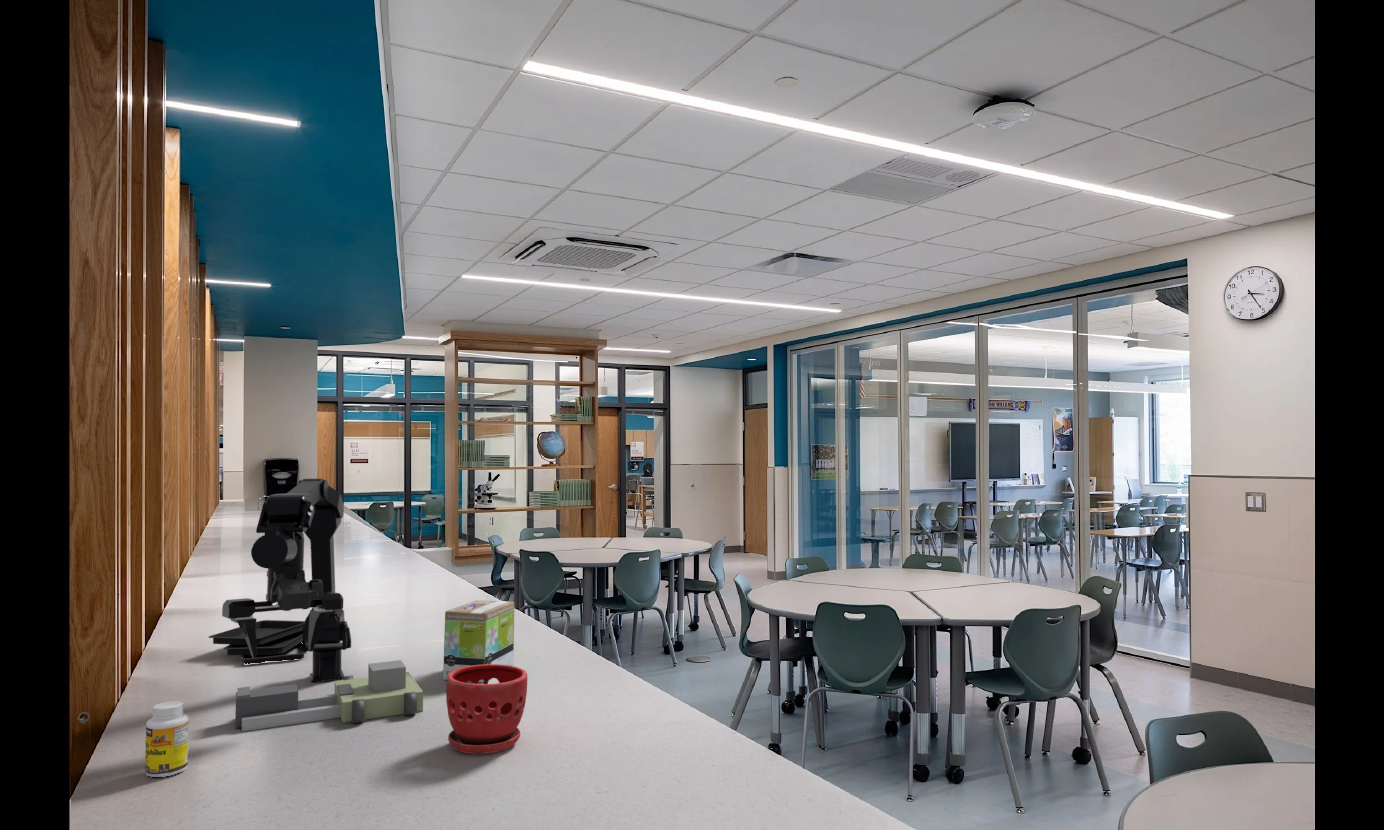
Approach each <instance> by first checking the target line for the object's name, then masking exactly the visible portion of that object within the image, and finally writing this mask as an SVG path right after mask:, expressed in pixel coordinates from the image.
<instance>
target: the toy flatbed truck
mask: <svg viewBox="0 0 1384 830" xmlns="http://www.w3.org/2000/svg"><path fill="white" fill-rule="evenodd" d="M367 668H368V669H367V671H368V672H367V673H368V675H367V676H365V677H364V676H363V677H358V678H356V677H355V678H354V675H353V674H351V675H344V676H343V677H342V679H338V680H334V694H333V693H331V694H324V695H317V696H309V697H308V696H307V697H302V698H301V697H300V698H298V710H294V711H286V712H279V713H272V714H264V715H257V716H250V717H242V727H241V732H247V731H255V730H256V731H257V730H261V729H270V728H276V727H283V726H291V725H297V724H304V723H311V722H317V721H318V722H319V721H324V720H325V721H326V720H333V719H338V718H340V720H341V722H342V724H343V723H351V722H352V724H357V723H358V724H359V723H363V722H365V721H366V720H371V719H379V718H384V717H392V716H398V715H404V716H413V715H416V714H417V713H418V712H423V711H424V691H423V689H422V688H421V687H420V686H419V684H418V683H417V681H416V680H415V678H414V677H413V676H412V674H411V673H410V671H407V666H406V665H405V664H404V662H403V661H402V660H401V659H397V660H389V661H380V662H373V663H368V667H367Z"/></svg>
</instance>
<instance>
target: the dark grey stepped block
mask: <svg viewBox="0 0 1384 830" xmlns="http://www.w3.org/2000/svg"><path fill="white" fill-rule="evenodd" d="M250 687H251V686H244V687H237V688H236V690H237V691H236V692H235V718H234V719H235V722H234V723H235V724H234V725H235V726H234V727H235V729H238V728H242V717H250V716H257V715H264V714H272V713H279V712H286V711H294V710H298V699H299V689H298V684H291V685H282V686H274V687H266V688H258V689H251V688H250Z"/></svg>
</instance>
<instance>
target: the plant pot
mask: <svg viewBox="0 0 1384 830" xmlns="http://www.w3.org/2000/svg"><path fill="white" fill-rule="evenodd" d="M491 679H496V680H497V681H498V682H496V683H489V680H491ZM479 680H483V681H484V682H483V683H480V682H479ZM468 681H471V682H468ZM445 687H446V688H445V690H446V691H445V693H446V695H445V696H446V707H447V716H448V719H449V724H450V726H451V728H452V730H451V731H450V732H449V734H448V735H447V740H448V742H449V744H450V747H452V748H453V749H455V750H456V751H458V752H462V753H464V754H465V753H466V754H469V755H470V754H471V755H485V754H486V755H487V754H493V753H498V752H501V751H504V750H507V749H510V747H513V745H514V744H516V743H517V742H518V740H519V739H520V738H521V730H520V728H518V726H519V724H520V722H521V719H522V717H523V715H524V711H525V706H526V701H527V694H528V693H527V692H528V673H527V672H526V670H525V669H523V668H521V667H518V666H513V665H512V666H510V665H501V664H483V665H473V666H467V667H462V668H458V669H456V670H454V671H452V672H450V673H449V674H448V676H447V680H446V686H445Z"/></svg>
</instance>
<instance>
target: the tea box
mask: <svg viewBox="0 0 1384 830" xmlns="http://www.w3.org/2000/svg"><path fill="white" fill-rule="evenodd" d="M443 637H444V638H443V639H444V640H443V668H442V669H443V670H442V672H443V673H442V675H443V676H442V679H443V680H444V681H447V676H448V674H449V673H450V672H452V671H454V670H456V669H458V668H462V667H467V666H473V665H483V664H501V665H510V666H513V665H514V660H515V659H514V656H515V655H514V649H515V648H514V646H515V601H505V600H504V601H502V600H481V599H479V600H478V599H475V600H473V601H471V602H468V603H465V604H462V605H460V606H459V605H458V606H457V607H453V608H450V609H449V610H446V611H445V612H444V636H443ZM467 683H472V682H471V681H468V682H467ZM478 683H484V681H483V680H479V682H478Z"/></svg>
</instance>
